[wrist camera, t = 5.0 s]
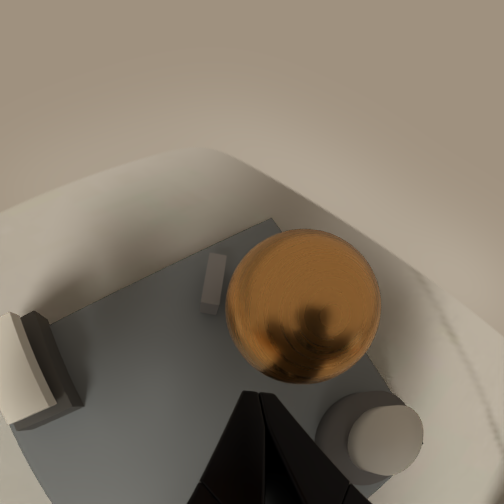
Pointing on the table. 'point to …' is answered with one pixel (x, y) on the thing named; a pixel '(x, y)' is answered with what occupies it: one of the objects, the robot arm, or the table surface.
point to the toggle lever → (303, 306)
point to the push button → (385, 439)
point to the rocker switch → (20, 374)
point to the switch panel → (168, 388)
